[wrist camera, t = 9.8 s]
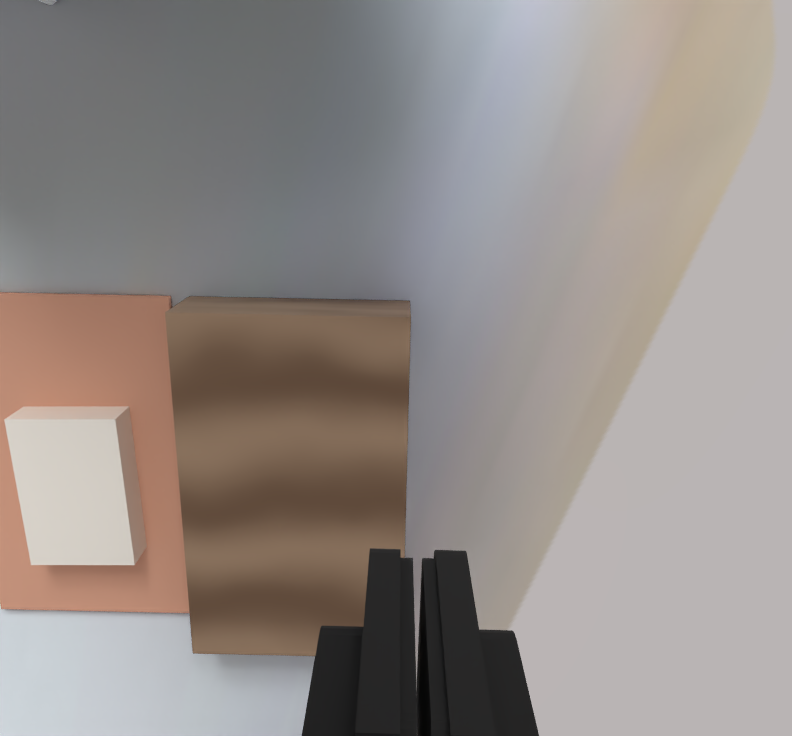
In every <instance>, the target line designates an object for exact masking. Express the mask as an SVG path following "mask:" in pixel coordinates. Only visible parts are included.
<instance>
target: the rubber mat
mask: <svg viewBox="0 0 792 736" xmlns="http://www.w3.org/2000/svg"><path fill="white" fill-rule="evenodd" d="M171 308H172V305H171V296H155V295H106V294H57V293H8V292H0V604H1V609H22V610H68V611H115V612H161V613H190V612H189V599H188V587H187V575H186V563H185V550H184V538H183V526H182V514H181V501H180V489H179V477H178V465H177V452H176V440H175V428H174V416H173V403H172V391H171V379H170V367H169V354H168V342H167V330H166V318H165V312H166V311H168V310H169V309H171ZM26 406H129V409H130V416H131V424H132V432H133V440H134V448H135V456H136V464H137V472H138V480H139V488H140V496H141V503H142V511H143V519H144V527H145V535H146V543H147V547H146V548H145V550H144V552H143V553H142V555H141V556H140V558H139V559H138V561H137V562H136V564H135V565H31V562H30V556H29V551H28V546H27V540H26V535H25V529H24V524H23V519H22V513H21V508H20V502H19V497H18V491H17V486H16V481H15V475H14V470H13V464H12V459H11V454H10V448H9V443H8V437H7V432H6V426H5V421H4V419H6V418H7V417H9V416H10V415H12V414H13V413H15V412H16V411H18V410H19V409H21V408H22V407H26Z"/></svg>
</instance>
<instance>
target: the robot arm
mask: <svg viewBox="0 0 792 736" xmlns="http://www.w3.org/2000/svg"><path fill="white" fill-rule="evenodd" d="M302 736H539V734H538V730H537V726H536V721H535V717H534V713H533V708H532V704H531V700H530V695H529V691H528V687H527V683H526V678H525V674H524V670H523V666H522V661H521V657H520V653H519V648H518V644H517V640H516V637H515V634H514V632H513V631H507V630H479V627H478V621H477V615H476V608H475V602H474V596H473V590H472V583H471V577H470V571H469V565H468V559H467V553H466V551H450V550H435V551H434V559H432V558H423V559H422V574H421V597H420V621H419V644H418V667H417V698H416V661H415V624H414V587H413V558H401V549H376V548H370V551H369V563H368V576H367V588H366V601H365V613H364V626H363V627H359V626H321V628H320V632H319V638H318V644H317V649H316V655H315V661H314V667H313V673H312V679H311V685H310V691H309V696H308V702H307V708H306V714H305V720H304V726H303V732H302Z"/></svg>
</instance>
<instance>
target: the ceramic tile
mask: <svg viewBox="0 0 792 736" xmlns="http://www.w3.org/2000/svg"><path fill="white" fill-rule="evenodd" d="M4 421H5V426H6V432H7V437H8V443H9V448H10V454H11V459H12V464H13V470H14V475H15V481H16V486H17V491H18V497H19V502H20V508H21V513H22V519H23V524H24V529H25V535H26V540H27V546H28V551H29V556H30V562H31V565H135V564H136V562H137V561H138V559H139V558H140V556H141V555H142V553H143V552H144V550H145V548H146V547H147V543H146V535H145V527H144V519H143V511H142V503H141V496H140V488H139V480H138V472H137V464H136V456H135V448H134V440H133V432H132V424H131V416H130V409H129V406H26V407H22V408H21V409H19V410H18V411H16V412H15V413H13V414H12V415H10V416H9V417H7V418H6V419H4Z"/></svg>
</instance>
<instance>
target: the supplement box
mask: <svg viewBox="0 0 792 736" xmlns="http://www.w3.org/2000/svg"><path fill="white" fill-rule="evenodd" d="M38 1H41V2H43V3H45V4H47V5H53V4H54V3H55V2H56V1H57V0H38Z"/></svg>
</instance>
